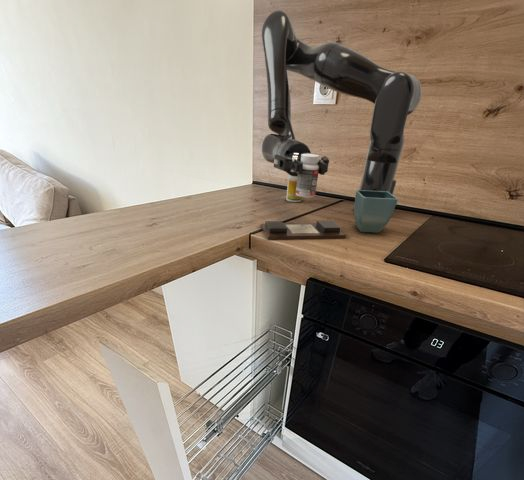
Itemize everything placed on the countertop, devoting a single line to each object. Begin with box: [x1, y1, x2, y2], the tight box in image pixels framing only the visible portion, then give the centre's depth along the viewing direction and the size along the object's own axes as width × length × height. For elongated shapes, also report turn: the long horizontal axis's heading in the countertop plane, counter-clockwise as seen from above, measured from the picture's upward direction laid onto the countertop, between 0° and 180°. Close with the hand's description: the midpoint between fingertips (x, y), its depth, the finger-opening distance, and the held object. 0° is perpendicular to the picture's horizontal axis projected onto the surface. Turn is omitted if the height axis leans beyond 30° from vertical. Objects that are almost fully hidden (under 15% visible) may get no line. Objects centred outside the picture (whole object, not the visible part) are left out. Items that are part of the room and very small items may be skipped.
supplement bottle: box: [285, 175, 303, 203], centre depth 102 cm, size 5×5×10 cm
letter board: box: [260, 220, 347, 240], centre depth 78 cm, size 20×10×2 cm, turn 101°
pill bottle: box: [296, 153, 320, 199], centre depth 71 cm, size 5×5×8 cm
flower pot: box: [353, 189, 399, 234], centre depth 80 cm, size 9×9×9 cm
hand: (312, 169), depth 68 cm, fingers closed on pill bottle, 4 cm apart
